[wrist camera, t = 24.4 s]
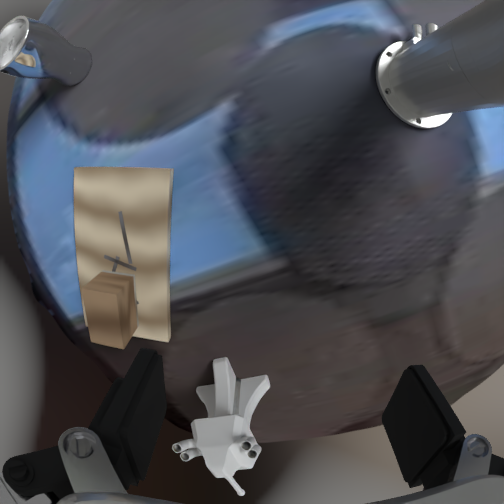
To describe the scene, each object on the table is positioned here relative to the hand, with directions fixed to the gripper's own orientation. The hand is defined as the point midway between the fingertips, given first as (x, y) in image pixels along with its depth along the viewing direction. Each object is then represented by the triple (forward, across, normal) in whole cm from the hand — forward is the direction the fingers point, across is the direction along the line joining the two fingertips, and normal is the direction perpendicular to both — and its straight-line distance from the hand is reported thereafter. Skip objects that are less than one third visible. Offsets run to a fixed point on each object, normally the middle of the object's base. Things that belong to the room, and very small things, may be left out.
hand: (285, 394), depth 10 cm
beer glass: (+28, +29, -21) cm, 46 cm away
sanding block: (+27, +19, +12) cm, 35 cm away
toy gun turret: (+28, +2, +27) cm, 39 cm away
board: (+28, +19, +6) cm, 35 cm away
